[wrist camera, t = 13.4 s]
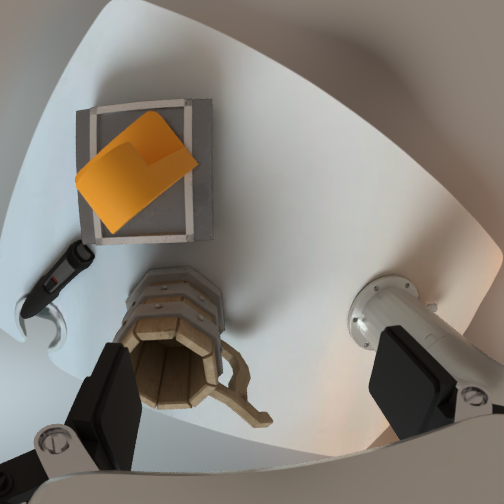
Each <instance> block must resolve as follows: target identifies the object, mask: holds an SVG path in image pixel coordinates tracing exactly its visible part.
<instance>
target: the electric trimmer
mask: <svg viewBox="0 0 504 504" xmlns="http://www.w3.org/2000/svg"><path fill="white" fill-rule="evenodd" d="M94 258H95V255H94V254H93V252H92V251H91V250H90V249H89V248H88V246H87V245H86V244H84V245H83V243H82V240H78V241H76V242H74V243H73V244H71V245H70V246H69V248H68V249H67V251H66V252H65V254H64V255H63V256H62V257H61V258H60V259H59V261H58V262H57V263H56V264H55V265H54V267H53V268H52V269H51V270H50V271H49V272H48V273H47V274H46V275H45V276H43V277H42V278H41V279H40V280H39V282H38V283H37V284H36V286H35V287H34V289H33V290H32V291H31V293H30V294H29V296H28V297H27V299H26V300H25V302H24V304H23V306H22V309H21V317H22V318H24V319H27V318H30V317H33V316H35V315H36V314H37V313H38V312H40V311H41V310H42V309H43V308H44V307H46V306H47V305H48V304H49V303H51V302H52V301H53V300H54V299H55V298H56V297H58V295H59V292H60V291H61V290H62V289H63V288H64V287H65V286H66V285H67V284H68V283H69V282H70V281H71V280H72V279H73V278H74V277H75V276H77V275H78V274H79V273H80V272H81V271H83V270H84V269H86V268H88V267H89V266H90V265H91V263H92V262H93V259H94Z"/></svg>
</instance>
